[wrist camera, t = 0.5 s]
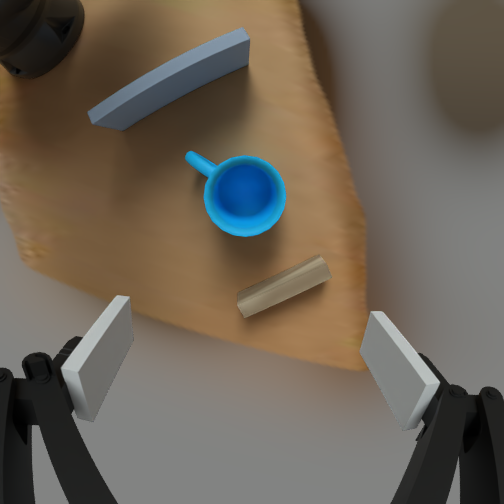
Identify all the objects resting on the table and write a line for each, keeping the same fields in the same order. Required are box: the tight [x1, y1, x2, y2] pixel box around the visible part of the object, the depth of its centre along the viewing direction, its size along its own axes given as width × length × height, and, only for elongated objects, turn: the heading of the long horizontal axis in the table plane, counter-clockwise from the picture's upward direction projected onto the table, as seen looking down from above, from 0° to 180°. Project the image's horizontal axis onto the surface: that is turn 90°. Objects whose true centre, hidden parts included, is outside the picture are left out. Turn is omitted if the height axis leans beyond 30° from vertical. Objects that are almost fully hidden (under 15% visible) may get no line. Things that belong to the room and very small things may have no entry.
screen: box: [87, 27, 250, 131], centre depth 30 cm, size 4×18×9 cm, turn 116°
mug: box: [185, 151, 286, 237], centre depth 34 cm, size 12×8×8 cm
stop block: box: [237, 255, 332, 318], centre depth 40 cm, size 2×12×4 cm, turn 116°
